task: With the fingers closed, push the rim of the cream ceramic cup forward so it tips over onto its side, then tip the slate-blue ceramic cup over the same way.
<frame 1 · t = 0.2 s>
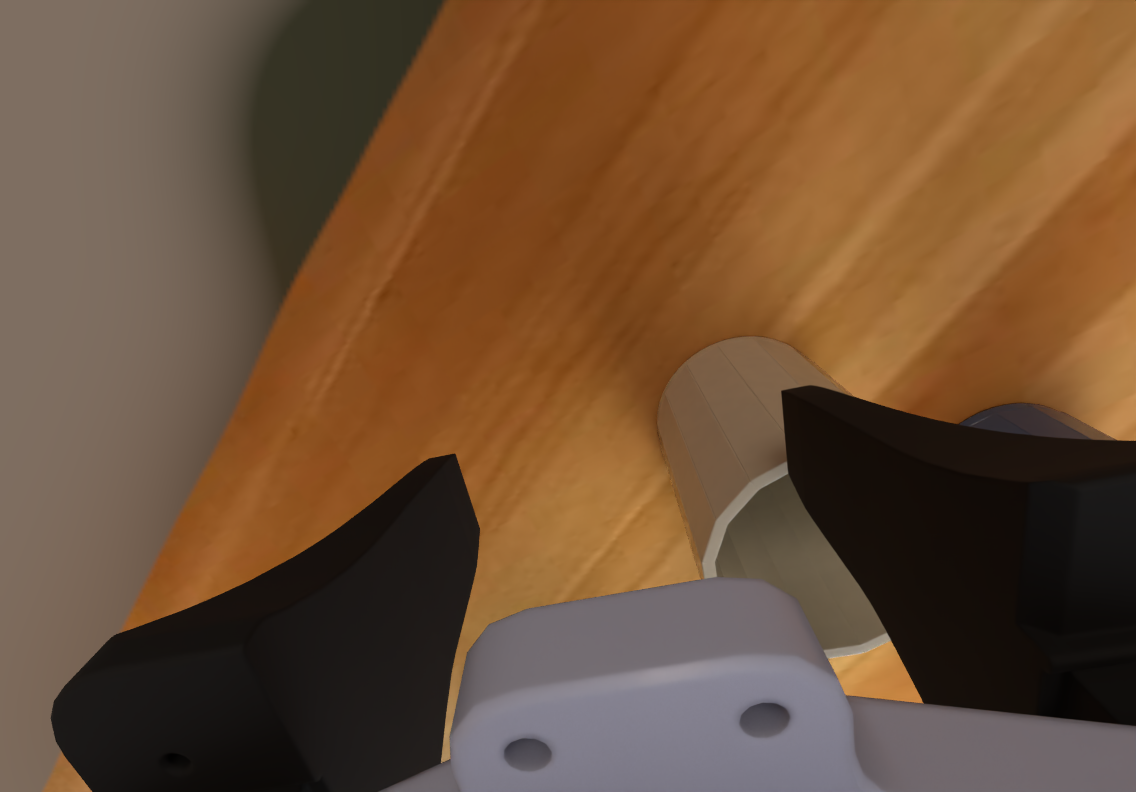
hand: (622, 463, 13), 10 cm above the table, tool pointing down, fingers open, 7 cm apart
cream cup: (740, 416, 23), on the table
blue cup: (998, 476, 24), on the table
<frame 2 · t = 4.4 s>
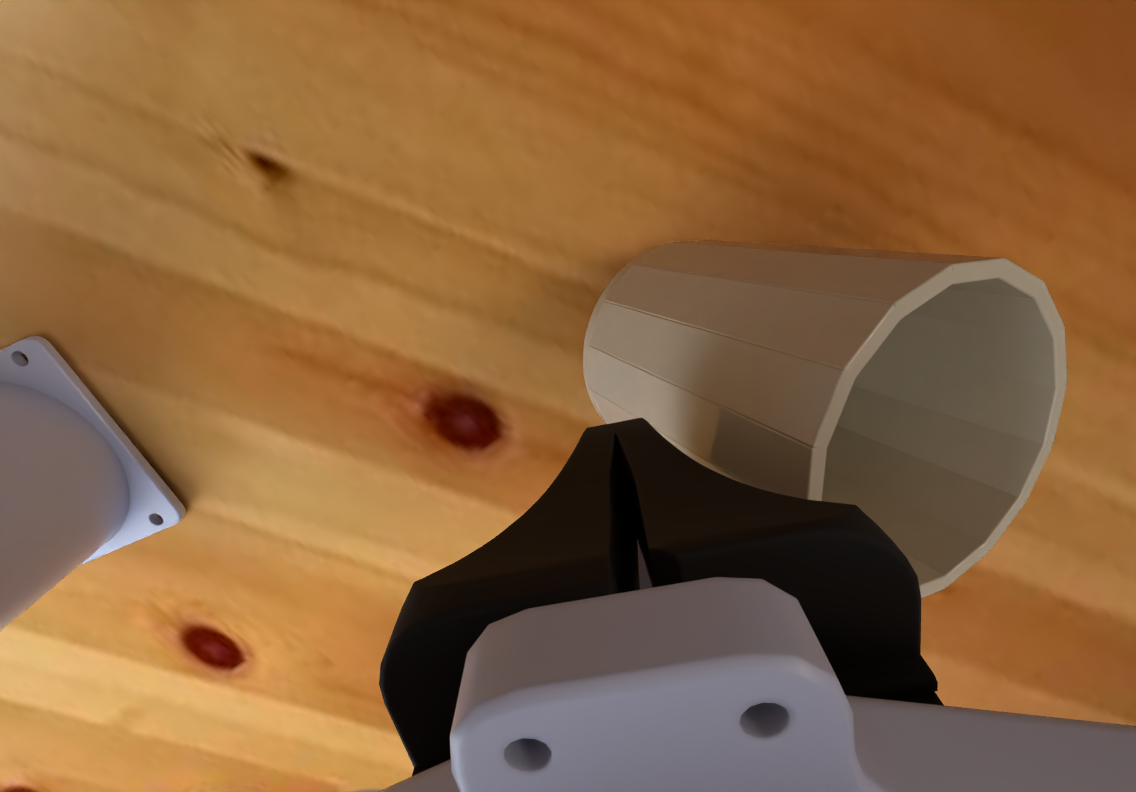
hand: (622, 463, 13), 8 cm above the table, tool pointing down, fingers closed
cream cup: (677, 348, 19), point 1 cm above the table, tilted 24°
blue cup: (637, 601, 24), on the table
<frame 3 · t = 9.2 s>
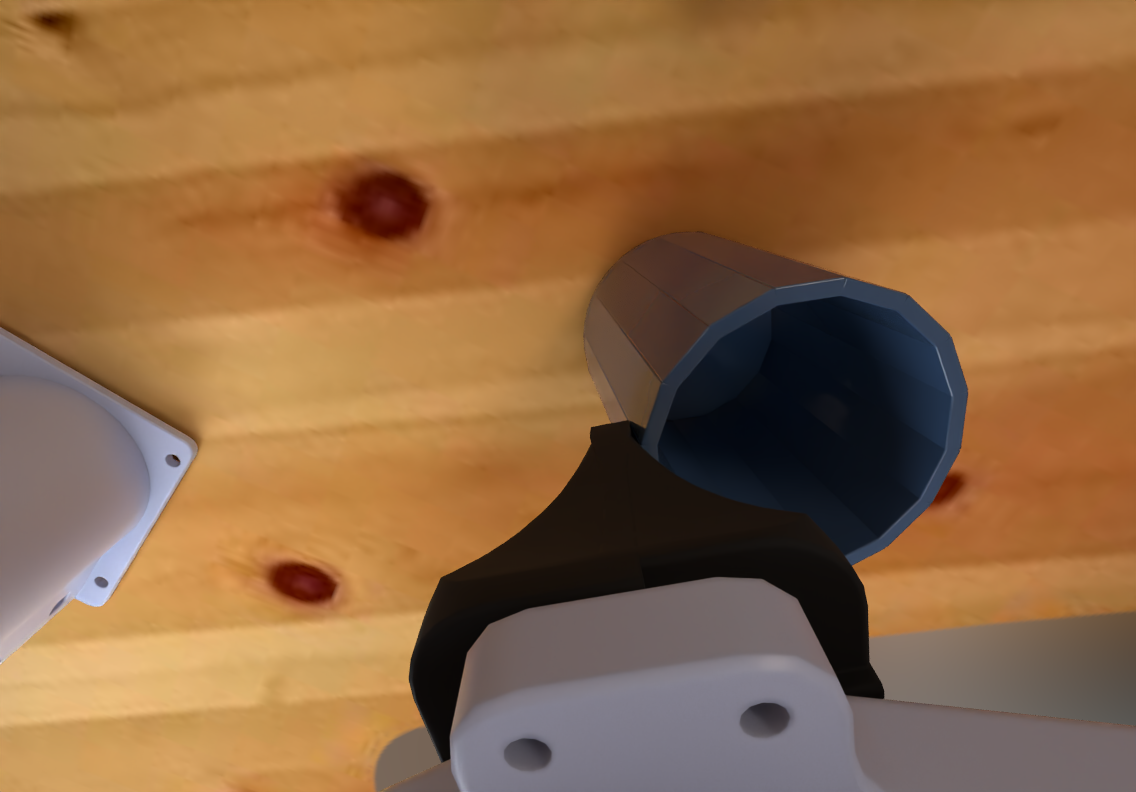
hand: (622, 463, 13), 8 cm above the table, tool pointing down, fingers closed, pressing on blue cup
blue cup: (680, 332, 20), on the table, tilted 6°, touching gripper
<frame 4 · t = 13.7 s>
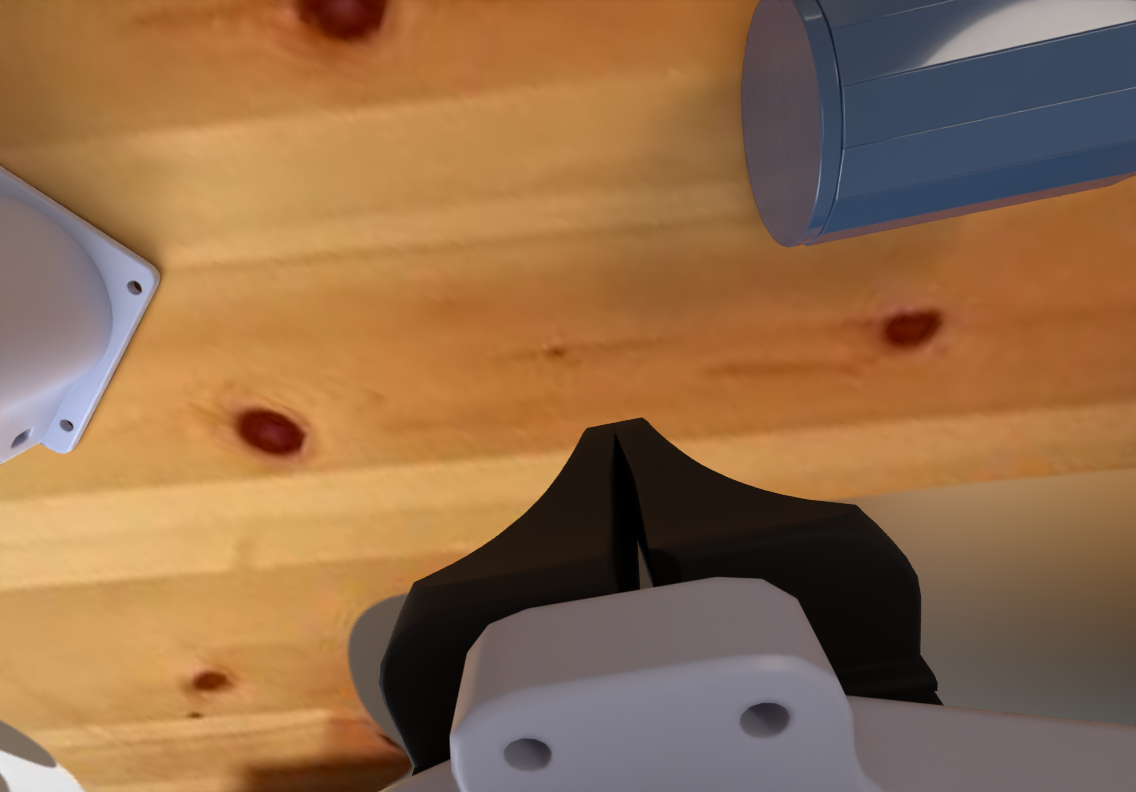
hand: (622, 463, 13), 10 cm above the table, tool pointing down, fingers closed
blue cup: (774, 128, 17), point 3 cm above the table, tilted 90°
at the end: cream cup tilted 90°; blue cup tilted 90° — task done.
